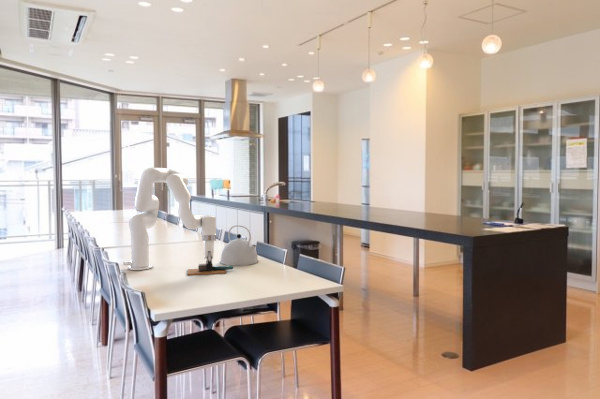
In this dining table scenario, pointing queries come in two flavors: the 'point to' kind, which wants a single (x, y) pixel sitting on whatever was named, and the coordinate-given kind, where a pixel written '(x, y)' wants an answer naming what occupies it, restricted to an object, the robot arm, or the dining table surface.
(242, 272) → the dining table surface
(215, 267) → the brush
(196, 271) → the cork mat
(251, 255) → the kettle
